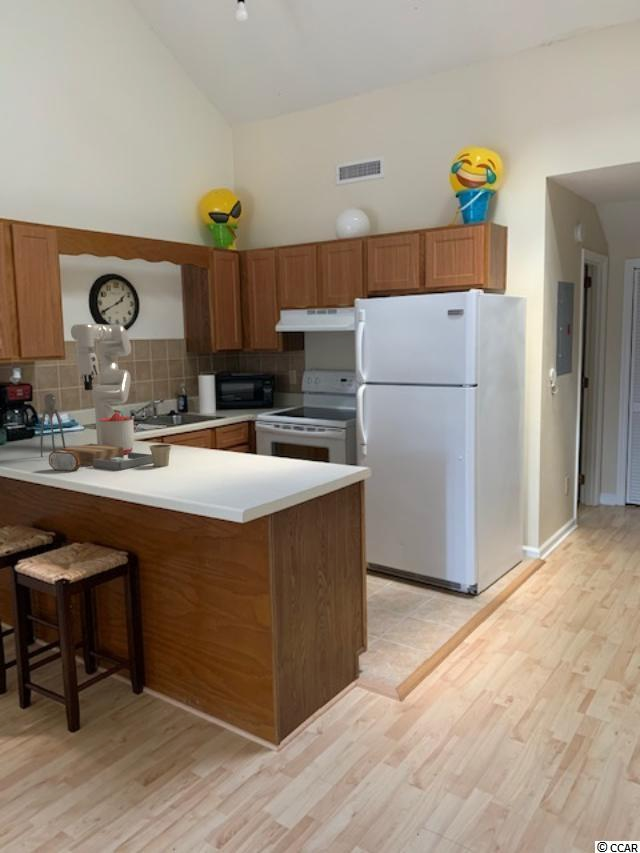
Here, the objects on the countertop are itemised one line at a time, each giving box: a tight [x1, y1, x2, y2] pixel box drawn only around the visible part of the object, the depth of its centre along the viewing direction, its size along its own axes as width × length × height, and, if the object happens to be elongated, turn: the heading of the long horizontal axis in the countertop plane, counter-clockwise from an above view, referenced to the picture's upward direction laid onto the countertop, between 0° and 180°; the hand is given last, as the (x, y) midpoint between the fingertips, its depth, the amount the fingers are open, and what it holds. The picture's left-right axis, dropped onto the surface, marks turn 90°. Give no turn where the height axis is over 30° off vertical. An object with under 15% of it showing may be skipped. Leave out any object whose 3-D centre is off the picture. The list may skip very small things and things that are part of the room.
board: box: [61, 443, 125, 467], centre depth 302 cm, size 16×22×6 cm
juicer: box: [39, 393, 66, 458], centre depth 313 cm, size 10×11×30 cm
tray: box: [92, 452, 153, 471], centre depth 290 cm, size 20×17×4 cm
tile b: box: [110, 457, 125, 462], centre depth 293 cm, size 4×4×2 cm
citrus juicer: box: [100, 411, 138, 455], centre depth 320 cm, size 16×17×20 cm
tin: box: [48, 449, 82, 472], centre depth 281 cm, size 15×3×8 cm, turn 71°
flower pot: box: [148, 443, 172, 468], centre depth 286 cm, size 9×9×9 cm
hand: (88, 389), depth 315 cm, fingers closed
